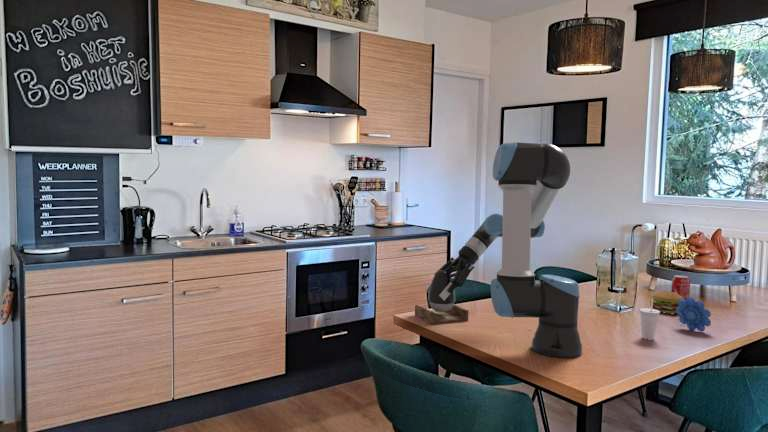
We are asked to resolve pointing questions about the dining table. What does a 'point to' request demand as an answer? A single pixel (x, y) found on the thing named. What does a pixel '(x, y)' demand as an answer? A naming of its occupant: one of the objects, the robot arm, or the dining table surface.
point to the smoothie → (649, 321)
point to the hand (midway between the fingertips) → (434, 295)
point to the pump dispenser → (436, 289)
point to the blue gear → (693, 314)
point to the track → (442, 315)
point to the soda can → (681, 286)
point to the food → (666, 301)
